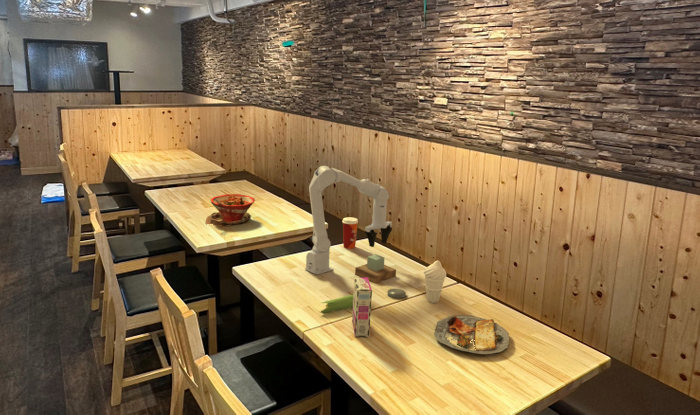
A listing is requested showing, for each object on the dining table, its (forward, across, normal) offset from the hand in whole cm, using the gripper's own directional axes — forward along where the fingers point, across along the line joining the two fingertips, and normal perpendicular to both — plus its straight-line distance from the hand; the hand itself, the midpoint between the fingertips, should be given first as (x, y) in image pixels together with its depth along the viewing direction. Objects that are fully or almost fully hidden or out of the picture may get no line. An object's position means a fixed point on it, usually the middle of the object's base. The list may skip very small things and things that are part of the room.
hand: (377, 244), depth 231 cm
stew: (+10, -14, +97) cm, 99 cm away
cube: (+7, -8, -7) cm, 13 cm away
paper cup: (+10, +8, +26) cm, 29 cm away
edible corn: (+10, -40, -22) cm, 47 cm away
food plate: (+10, -22, -64) cm, 68 cm away
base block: (+10, -8, -7) cm, 15 cm away
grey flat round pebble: (+10, -16, -26) cm, 32 cm away
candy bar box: (+10, -46, -37) cm, 60 cm away
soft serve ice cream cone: (+10, -9, -38) cm, 40 cm away
